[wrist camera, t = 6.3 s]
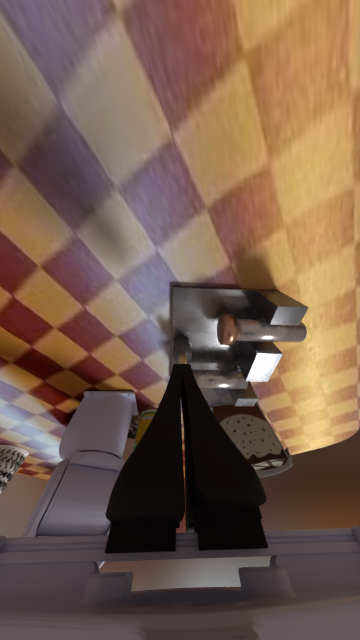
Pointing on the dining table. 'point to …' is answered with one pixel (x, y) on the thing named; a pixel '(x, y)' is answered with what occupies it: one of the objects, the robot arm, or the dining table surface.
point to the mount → (248, 356)
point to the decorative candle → (10, 462)
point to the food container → (253, 437)
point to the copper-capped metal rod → (256, 331)
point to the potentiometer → (182, 350)
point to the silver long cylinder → (220, 379)
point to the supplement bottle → (144, 424)
